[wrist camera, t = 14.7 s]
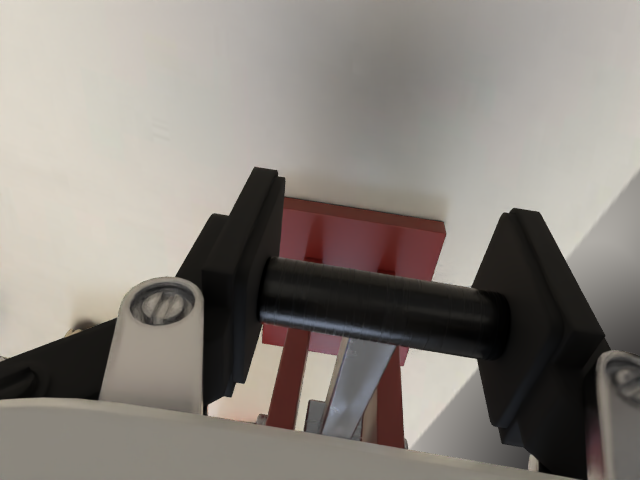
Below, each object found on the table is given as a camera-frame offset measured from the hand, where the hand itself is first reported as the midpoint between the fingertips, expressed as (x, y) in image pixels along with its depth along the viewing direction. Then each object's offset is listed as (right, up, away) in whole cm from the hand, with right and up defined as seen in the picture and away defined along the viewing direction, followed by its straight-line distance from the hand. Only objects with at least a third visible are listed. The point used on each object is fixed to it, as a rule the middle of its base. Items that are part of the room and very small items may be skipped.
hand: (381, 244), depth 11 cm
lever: (-1, -4, +4) cm, 6 cm away
